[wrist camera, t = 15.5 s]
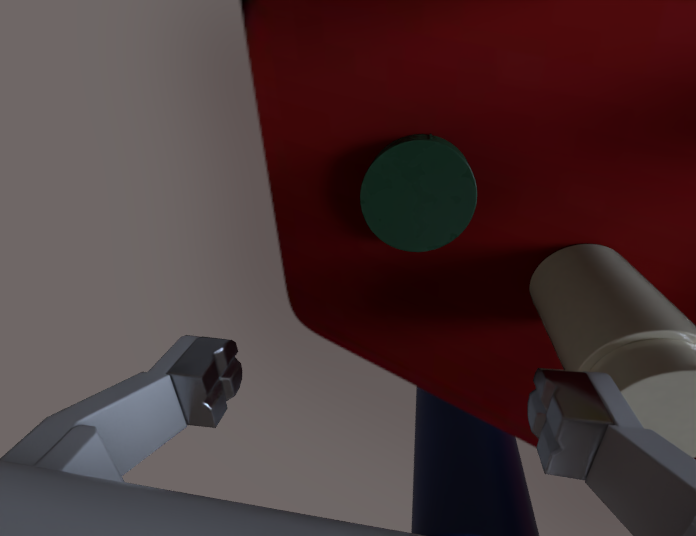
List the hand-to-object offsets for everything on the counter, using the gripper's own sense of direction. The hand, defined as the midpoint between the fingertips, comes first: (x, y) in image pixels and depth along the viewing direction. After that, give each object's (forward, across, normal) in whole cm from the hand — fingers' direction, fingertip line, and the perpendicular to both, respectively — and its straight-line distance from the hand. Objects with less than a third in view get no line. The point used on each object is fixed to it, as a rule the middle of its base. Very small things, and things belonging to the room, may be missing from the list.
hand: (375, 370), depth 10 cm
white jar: (+16, -12, +6) cm, 21 cm away
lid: (+14, -1, -1) cm, 14 cm away
